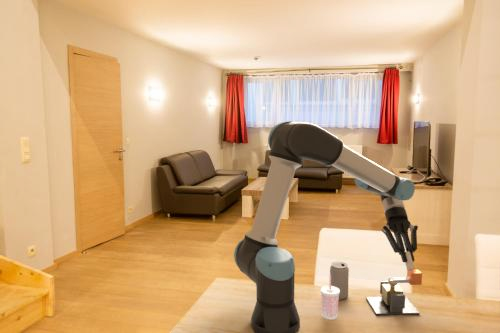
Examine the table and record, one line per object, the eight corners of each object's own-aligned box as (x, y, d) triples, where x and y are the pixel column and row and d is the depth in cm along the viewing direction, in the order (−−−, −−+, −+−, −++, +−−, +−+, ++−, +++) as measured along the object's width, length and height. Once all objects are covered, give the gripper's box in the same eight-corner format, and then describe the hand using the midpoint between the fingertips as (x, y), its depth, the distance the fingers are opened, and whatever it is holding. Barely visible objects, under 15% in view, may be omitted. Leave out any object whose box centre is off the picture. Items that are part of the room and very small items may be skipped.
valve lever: (390, 286, 127) (390, 273, 127) (386, 282, 130) (387, 270, 130) (421, 285, 127) (422, 273, 127) (417, 281, 130) (418, 269, 130)
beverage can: (349, 300, 135) (350, 268, 133) (331, 300, 135) (332, 268, 133) (345, 292, 141) (346, 260, 139) (328, 292, 141) (328, 261, 139)
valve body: (376, 315, 124) (377, 292, 123) (366, 299, 135) (366, 278, 134) (419, 315, 124) (420, 292, 123) (405, 298, 135) (406, 277, 134)
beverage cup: (323, 321, 121) (324, 279, 119) (317, 311, 127) (318, 271, 125) (342, 319, 122) (343, 278, 120) (335, 310, 128) (335, 270, 126)
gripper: (408, 215, 148) (426, 274, 134) (374, 215, 148) (389, 275, 134) (415, 205, 142) (434, 266, 128) (380, 205, 142) (395, 267, 128)
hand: (411, 270), depth 131 cm, fingers closed
